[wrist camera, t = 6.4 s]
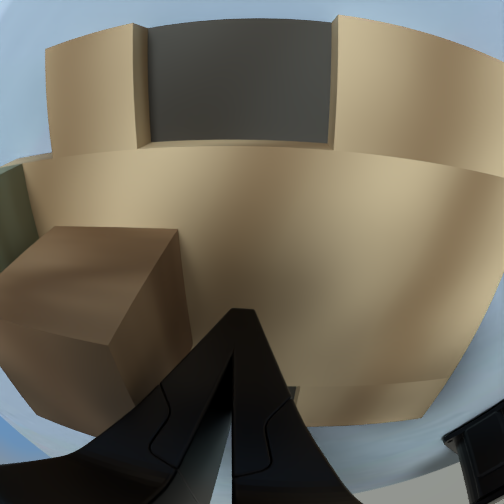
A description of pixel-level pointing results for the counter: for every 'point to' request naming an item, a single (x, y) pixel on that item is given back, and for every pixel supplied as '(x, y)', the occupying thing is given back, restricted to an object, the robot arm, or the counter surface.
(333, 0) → the counter surface
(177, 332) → the walnut block
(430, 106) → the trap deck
